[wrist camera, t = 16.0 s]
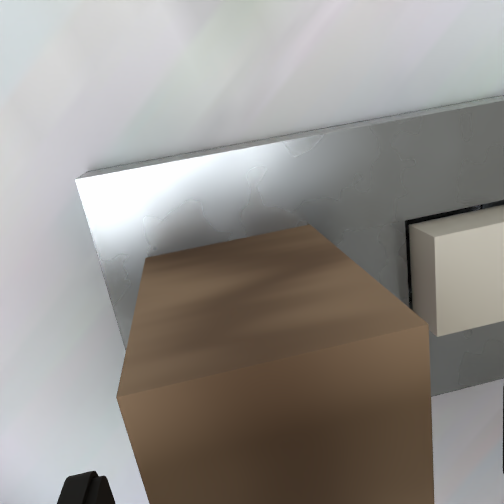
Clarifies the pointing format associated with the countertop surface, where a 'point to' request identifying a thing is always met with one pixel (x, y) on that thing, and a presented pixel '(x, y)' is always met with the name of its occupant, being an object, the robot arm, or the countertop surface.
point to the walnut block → (276, 378)
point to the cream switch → (458, 270)
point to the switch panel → (313, 206)
